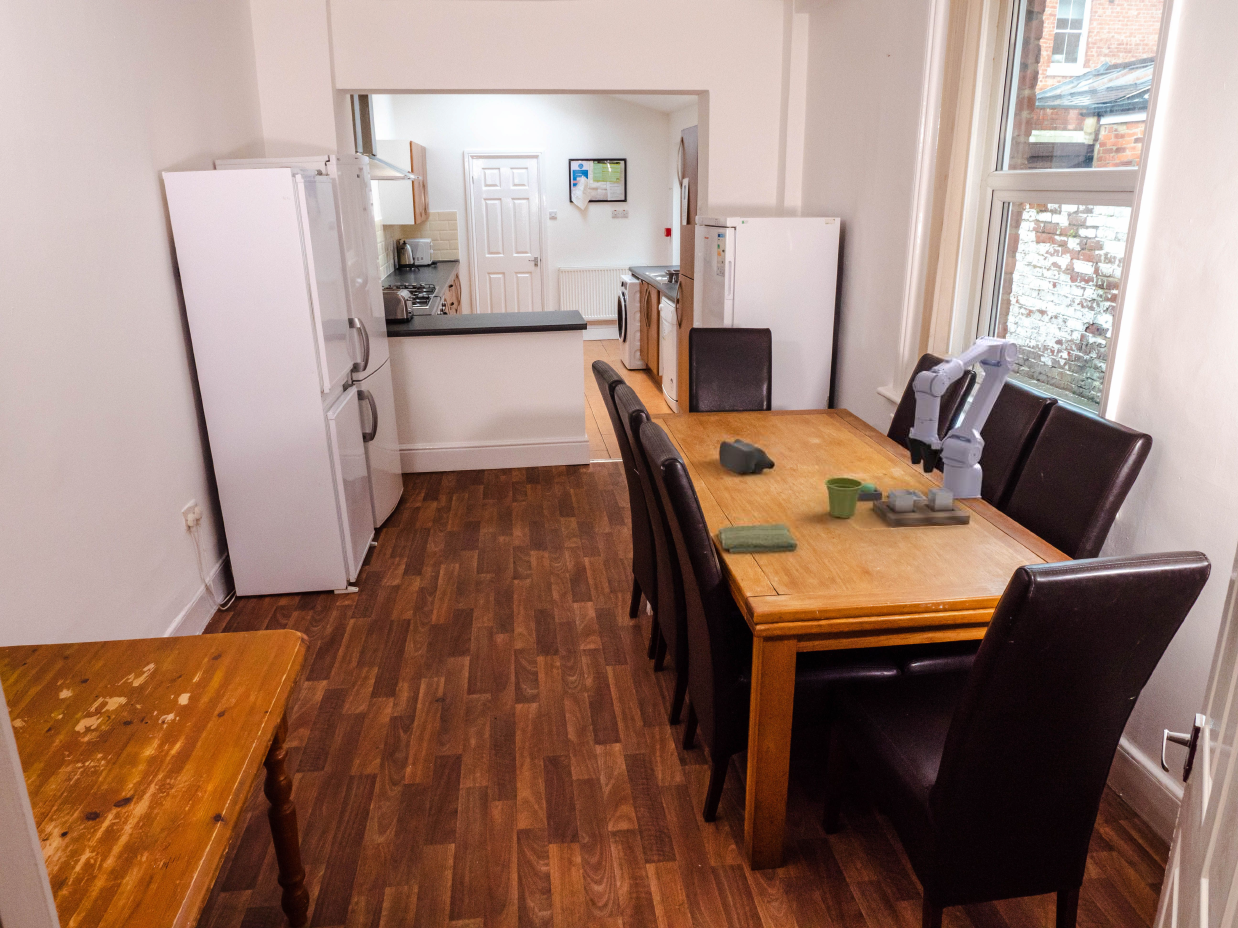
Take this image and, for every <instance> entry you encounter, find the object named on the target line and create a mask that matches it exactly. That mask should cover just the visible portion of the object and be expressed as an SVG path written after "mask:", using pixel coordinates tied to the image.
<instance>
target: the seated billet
mask: <svg viewBox="0 0 1238 928" xmlns="http://www.w3.org/2000/svg"><path fill="white" fill-rule="evenodd" d="M927 499H928V504H927V508H929V509H930V510H931V511H932V512H945V511H951V510H952V503H953V500H954V499H953V493H952V492H951V491H950V490H948V489H947V488H942V487H930V488H928V495H927Z"/></svg>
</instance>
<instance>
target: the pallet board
mask: <svg viewBox="0 0 1238 928" xmlns="http://www.w3.org/2000/svg"><path fill="white" fill-rule="evenodd" d="M927 504H928V498H927V499H923V500H913V510H912V513H893V512H892V511H891V510H890V509H889V500H872V507H871V508H872V510H873V512H875V513H876V514H877V515H878V516H879V517H881V518H882V519H883V520H884V521H885V522H886V523H887V524H888V525H890V526H889V527H890V528H892V529H894V528H897V527H905V528H916V527H917V528H918V527H919V528H920V527H922V526H930V527H939V526H940V527H943V526H946V525H955V526H965V525H966V524H970V520H971V515H970V514H969V513H967V512H966V511H965V510H963V509H962V508H961V507H959V506H958V505H956V504H955V503H954V502H952V510H951V511H945V512H932V511H931V510H930V509H929V508H927Z"/></svg>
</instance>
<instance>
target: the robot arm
mask: <svg viewBox="0 0 1238 928" xmlns="http://www.w3.org/2000/svg"><path fill="white" fill-rule="evenodd" d="M1019 355H1020V351H1019V345H1018V343H1017V341H1015V340H1014V339H1006V338H999V337H991V336H987V335H982V336H980V337H978V338H977V339H975V340H973V344H972V346H971V347H970V348H968V349H967V350H966V351H964V352H963V353H962V354H961V355H959V356H958V357H956V358H954V357H946V358H944V359H943V361H942V362H941V363H939V364H937V366H932V368H931V369H930V370H928V371H927V370H924V371H920V372H919V373H918V374H916V375H915V378H914V381H913V382H912V388H913V390H914V391H913V392H915V393H914V398H915V400H916V403H915V414H914V415H915V417H914V426H913V427H910V429H909V435H908V437H905V441H906V443H907V446H908V450H909V454H910V463H911V464H912V465H921V463H922V470H923V473H924V474H933V472H934V469H935V467H936V464H937V463H938V462H937V461H938V459H939V457H940V458H942V462H944V465H943V477H942V485H941V486H942V487H941V488H947V489H948V490H950V491H951V492H952V493H953V500H954V499H975V498H981V499H982V496H981V491H982V480H983V470H982V467H981V465H980V464H979V463H978V462H980V459H981V457H982V453H983V448H984V445H985V441H984V440H983V438H982V436H981V434H980V433H981V431H982V429H983V428H984V425H985V423H986V421H987V419H988V417H989V415H990V413H991V411H992V409H993V407H994V404H995V403H996V401H997V399H998V397H999V396H1000V393H1001V391H1002V389H1003V386H1004V385H1005V384H1006V381H1007V378H1008V376H1009V375H1010V374H1011V372H1012V370H1013V368H1014V366H1015V364H1016V362H1017V360H1018V358H1019ZM977 363H978V364H979V367H980V368H981V370H983V371H984V377H983V379H982V381H981V383H980V385H979V387H978V389H977V390H976V393H975V395H974V397H973V399H972V401H971V402H970V405H969V407H968V409H967V411H966V413H965V415H964V417H963V419H962V421H961V422H960V425H959V426H957V427H955V428H954V427H953V428H952V429H951V430H949V431H948V432H947V435H946V436H945V437H944V438H943V439H942V440H940V439H939V436H938V426H939V425H938V424H939V415H940V405H941V396H943V395H944V394H945V393H946V390H947V388H948V387H950V385H951V384H952V383H954V382H955V381H957V380H958V379H960V378H961V377H962V376H963V375H964V373H965V372H964V371H965V370H966V369H968V368H970V367H972V366H974V365H975V364H977Z"/></svg>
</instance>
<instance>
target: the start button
mask: <svg viewBox="0 0 1238 928" xmlns="http://www.w3.org/2000/svg"><path fill="white" fill-rule="evenodd" d="M862 483H863V482H862ZM875 487H876V485H875V484H874V483H870V482H869V483H868V482H867V483H866V482H865V483H863V486H862V487H861V491H862V492H874V488H875Z"/></svg>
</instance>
